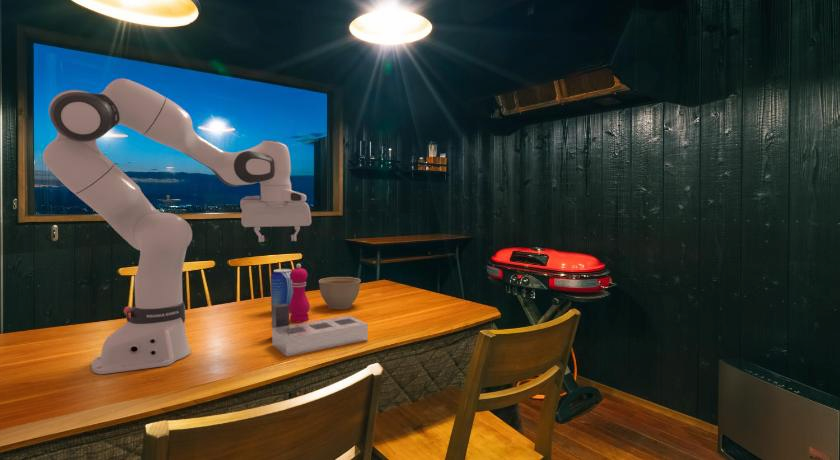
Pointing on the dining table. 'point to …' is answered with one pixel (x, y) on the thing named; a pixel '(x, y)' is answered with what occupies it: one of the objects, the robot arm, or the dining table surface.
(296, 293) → the pepper mill
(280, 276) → the beer can
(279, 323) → the steel block
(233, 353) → the dining table surface
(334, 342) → the white slotted block holder
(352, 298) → the planter bowl
